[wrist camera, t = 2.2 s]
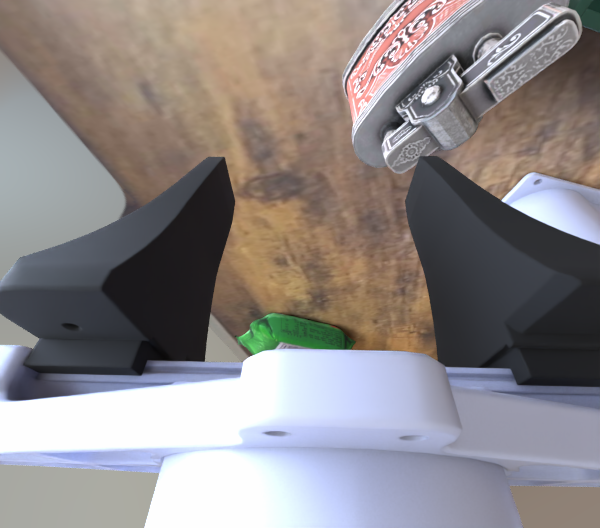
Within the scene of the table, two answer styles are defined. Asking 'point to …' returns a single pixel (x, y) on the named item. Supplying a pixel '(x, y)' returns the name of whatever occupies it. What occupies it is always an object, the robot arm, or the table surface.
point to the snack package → (293, 335)
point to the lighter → (446, 71)
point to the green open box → (587, 13)
